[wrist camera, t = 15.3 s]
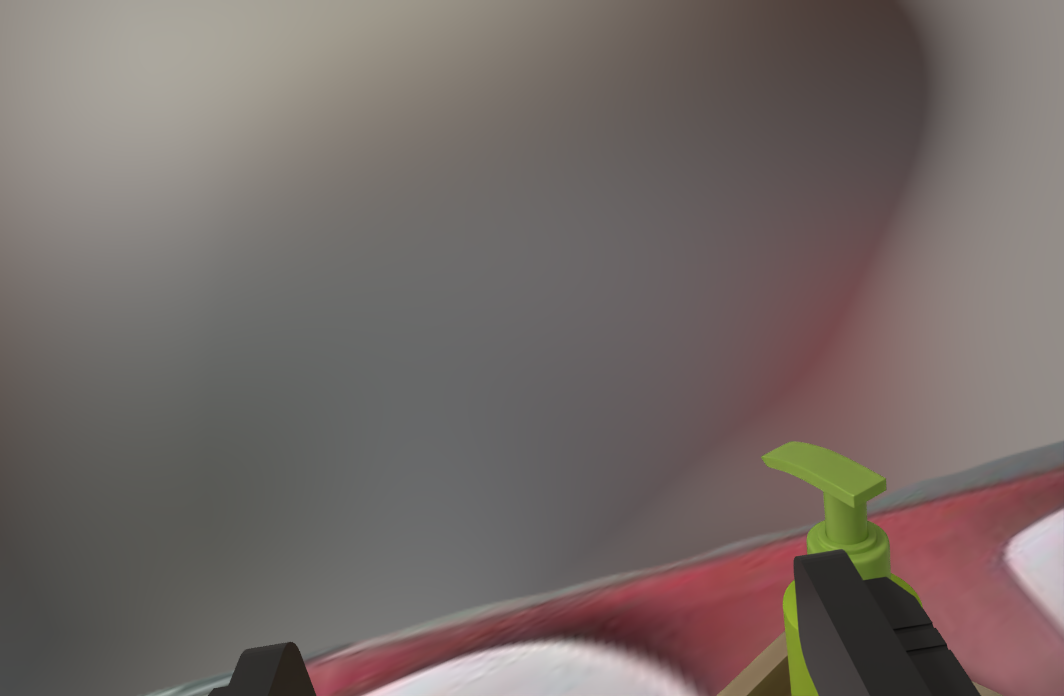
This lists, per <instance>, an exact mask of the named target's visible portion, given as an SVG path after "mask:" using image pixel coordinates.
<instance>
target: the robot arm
mask: <svg viewBox="0 0 1064 696" xmlns="http://www.w3.org/2000/svg"><path fill="white" fill-rule="evenodd" d="M794 579H795V592H796V605H797V618H798V631H799V638H800V644H801V648H802V653H803V656H804V660H805V663H806V666H807V669H808V672H809V674H810V677H811V679H812V681H813V684H814V686H815V688H816V690H817V693H818V695H819V696H981V695H980V693H979V692H978V690H977V689H976V687H975V686H974V684H973V683H972V681H971V680H970V678H969V677H968V675H967V674H966V672H965V671H964V669H963V668H962V666H961V665H960V663H959V662H958V660H957V659H956V657H955V656H954V654H953V653H952V651H951V650H948V648H947V644H946V642H945V641H944V639H943V638H942V636H941V635H940V633H939V632H938V630H937V629H936V628H934V627H933V624H932V621H931V620H930V618H929V617H928V615H927V614H926V612H925V611H924V609H923V608H922V606H921V605H920V603H919V602H918V600H917V599H916V597H915V596H913V595H912V594H910V593H909V592H908V591H906V590H905V589H903V588H902V587H900V586H899V585H898V584H896V583H895V582H893V581H892V580H891V579H889V578H888V577H880V578H874V579H868V580H863V579H862V577H861V576H860V574H859V572H858V571H857V569H856V567H855V566H854V564H853V562H852V561H851V559H850V557H849V556H848V554H847V553H846V552H845V550H843V549H838V550H832V551H826V552H820V553H814V554H808V555H802V556H796V557H795V558H794ZM208 696H316V693H315V691H314V688H313V685H312V683H311V680H310V677H309V675H308V672H307V669H306V667H305V664H304V662H303V659H302V656H301V654H300V651H299V649H298V647H297V646H296V644H295V643H293V642H288V643H281V644H275V645H269V646H263V647H257V648H251V649H246V650H245V651H244V652H243V653H242V654H241V656H240V658H239V661H238V663H237V666H236V668H235V671H234V673H233V675H232V678H231V680H230V683H229V685H228V686H226V687H220V688H214V689H213V690H212V691H211V693H210V694H209V695H208Z"/></svg>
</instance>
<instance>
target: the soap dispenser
mask: <svg viewBox="0 0 1064 696" xmlns="http://www.w3.org/2000/svg"><path fill="white" fill-rule="evenodd" d="M762 459H763V461H764V462H765V464H766V465H767V466H768V467H770V468H774V469H778V470H781V471H784V472H787V473H790V474H792V475H794V476H796V477H798V478H800V479H802V480H804V481H806V482H808V483H810V484H811V485H813V486H815V487H817V488H819V489H820V490H822V491H823V493H824V509H825V520H824V521H822V522H819V523H818V524H816V525H815V526H814V527H813V528H812V529H811V530H810V531H809V533H808V535H807V554H814V553H820V552H826V551H832V550H838V549H843V550H845V552H846V553H847V554H848V556H849V557H850V559H851V561H852V562H853V564H854V566H855V567H856V569H857V571H858V572H859V574H860V576H861V577H862V579H863V580H868V579H874V578H880V577H888V578H889V579H891V580H892V581H893V582H895V583H896V584H898V585H899V586H900V587H902V588H903V589H905V590H906V591H908V592H909V593H910V594H912V595H913V596H915V597H916V599H917V600H918V602H919V603H920V605H921V606H922V603H921V600H920V598H919V597H918V595H917V593H916V592H915V591H914V590H913V589H912V587H911V586H910V585H908V584H907V583H906V582H905V581H903V580H902V579H900V578H899V577H897V576H895V575H894V574H892V573H891V570H890V545H889V539H888V536H887V534H886V533H885V532H884V531H883V530H882V529H881V528H880V527H879V526H877V525H876V524H874V523H872V522H870V521H867V505H866V502H867V501H868V500H870V499H872V498H874V497H875V496H877V495H879V494H880V493H882V492H884V491H886V478H884V477H882V476H881V475H879V474H877V473H875V472H873V471H871V470H870V469H868V468H866V467H864V466H862V465H860V464H858V463H856V462H855V461H853V460H851V459H848V458H847V457H844V456H842V455H840V454H838V453H836V452H833V451H831V450H828V449H825V448H823V447H819V446H816V445H812V444H808V443H802V442H789V443H787V444H785V445H783V446H781V447H779V448H777V449H775V450H773V451H771V452H769V453H767V454H765V455H763V456H762ZM922 608H923V607H922ZM783 611H784V621H785V632H786V642H787V653H788V663H789V674H790V684H791V695H792V696H819V695H818V693H817V690H816V688H815V686H814V684H813V681H812V679H811V677H810V674H809V672H808V669H807V666H806V663H805V660H804V656H803V653H802V648H801V644H800V638H799V631H798V618H797V605H796V592H795V579H794V580H793V581H792V582H791V584H790V585H789V586H788V588H787V589H786V591H785V594H784V598H783Z"/></svg>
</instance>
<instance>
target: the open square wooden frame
mask: <svg viewBox="0 0 1064 696" xmlns="http://www.w3.org/2000/svg"><path fill="white" fill-rule="evenodd" d="M972 683H973V684H974V686H975V687H976V689H977V690H978V692H979V693H980V695H981V696H1003V695H1001V694H999V693H997V692H994V691H992V690H990V689H988V688H986V687H984V686H981V685H979V684H977V683H975V682H973V681H972ZM717 696H792V695H791V684H790V674H789V663H788V653H787V642H786V632H785V631H784V632H783V633H782V634H781V635H780V636H779V637H778V638H777V639H776V640H775V641H774V642H773V643H771V644H770V645H769V646H768V647H767V648H766V649H765V650H764V651H763V652H762V653H761V654H760V655H759V656H758V657H757V658H756V659H755V660H754V661H753V662H752V663H751V664H750V665H748V666H747V667H746V668H745V669H744V670H743V671H742V672H741V673H740V674H739V675H738V676H737V677H736V678H735V679H734V680H733V681H732V682H731V683H730V684H729V685H728V686H727V687H725V688H724V689H723V690H722V691H721V692H720V693H719V694H718V695H717Z"/></svg>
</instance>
